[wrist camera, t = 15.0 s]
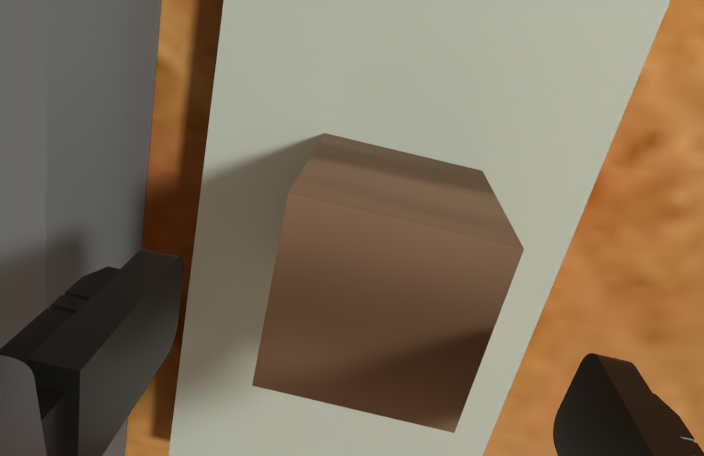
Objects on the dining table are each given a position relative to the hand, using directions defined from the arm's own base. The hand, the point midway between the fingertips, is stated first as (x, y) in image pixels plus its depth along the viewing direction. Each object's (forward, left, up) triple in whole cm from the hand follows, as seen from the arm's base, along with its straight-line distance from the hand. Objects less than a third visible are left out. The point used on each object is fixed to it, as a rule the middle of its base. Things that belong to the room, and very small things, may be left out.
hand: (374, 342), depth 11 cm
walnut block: (0, 0, -7) cm, 7 cm away
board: (0, 0, -9) cm, 9 cm away
